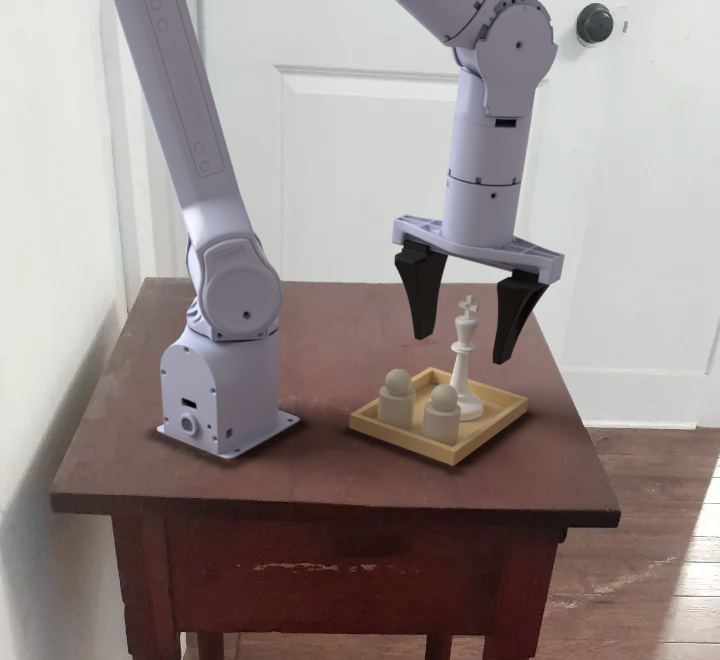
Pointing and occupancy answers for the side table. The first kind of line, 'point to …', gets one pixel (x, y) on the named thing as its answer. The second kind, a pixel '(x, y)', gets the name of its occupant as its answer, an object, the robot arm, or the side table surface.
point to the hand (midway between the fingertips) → (461, 348)
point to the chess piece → (465, 361)
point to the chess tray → (471, 433)
